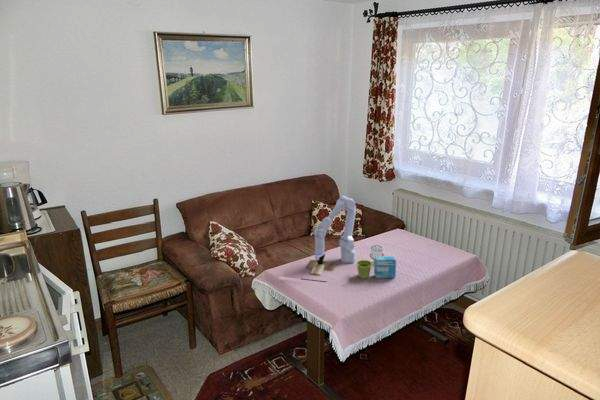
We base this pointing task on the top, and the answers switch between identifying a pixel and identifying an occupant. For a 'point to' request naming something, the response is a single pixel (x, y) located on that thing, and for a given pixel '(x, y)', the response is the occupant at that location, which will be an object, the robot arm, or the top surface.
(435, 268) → the top surface
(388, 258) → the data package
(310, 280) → the charcoal mat
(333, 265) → the walnut board
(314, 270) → the birch block
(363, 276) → the plant pot
